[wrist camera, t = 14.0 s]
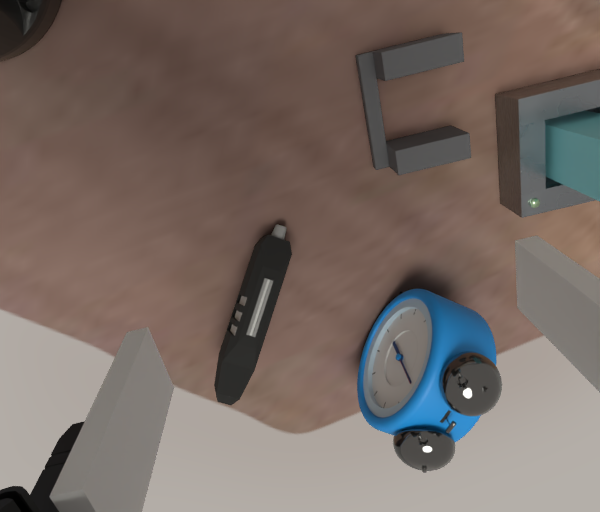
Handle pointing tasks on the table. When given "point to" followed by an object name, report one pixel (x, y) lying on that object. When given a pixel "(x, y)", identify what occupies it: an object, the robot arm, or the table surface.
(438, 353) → the alarm clock
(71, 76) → the table surface
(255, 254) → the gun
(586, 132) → the plug
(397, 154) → the grey u-shaped bracket
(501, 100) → the port panel
